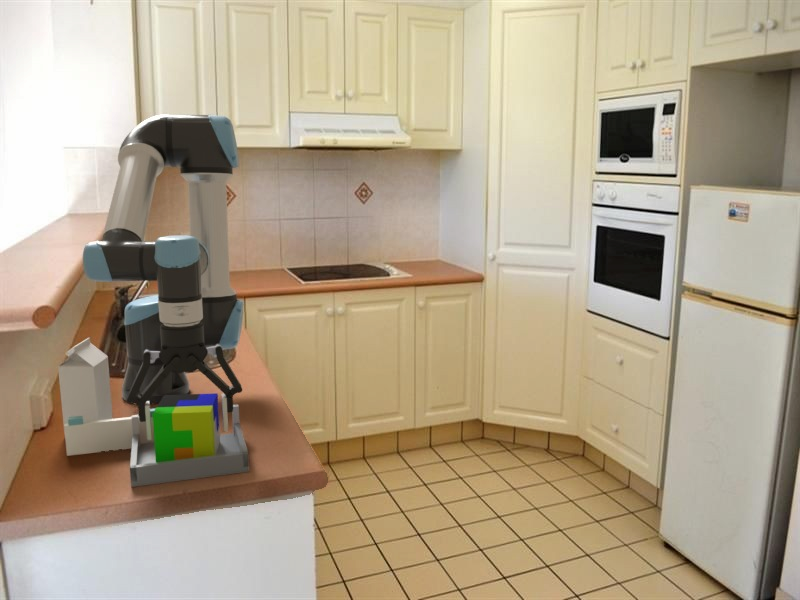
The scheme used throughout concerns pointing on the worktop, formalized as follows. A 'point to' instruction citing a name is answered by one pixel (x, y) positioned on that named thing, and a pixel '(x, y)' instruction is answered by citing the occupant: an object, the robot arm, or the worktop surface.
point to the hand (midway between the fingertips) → (188, 433)
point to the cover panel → (102, 434)
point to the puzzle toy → (186, 427)
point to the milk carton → (85, 384)
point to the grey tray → (225, 461)
